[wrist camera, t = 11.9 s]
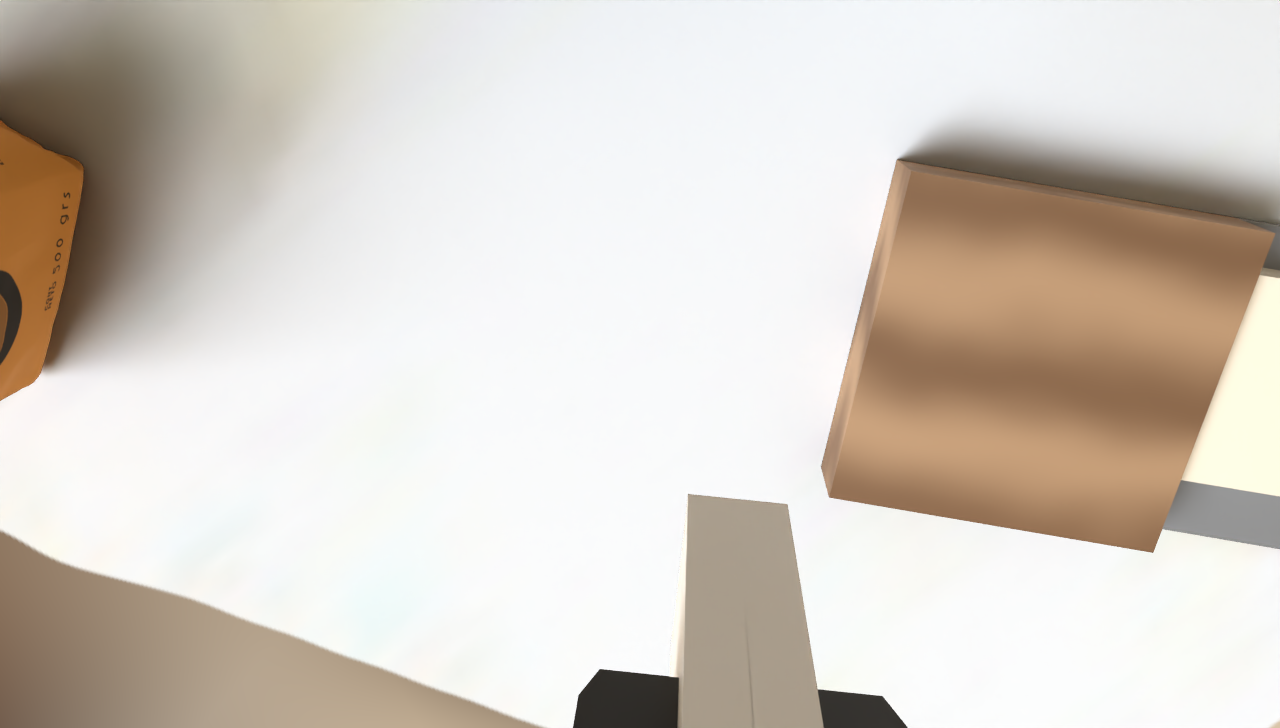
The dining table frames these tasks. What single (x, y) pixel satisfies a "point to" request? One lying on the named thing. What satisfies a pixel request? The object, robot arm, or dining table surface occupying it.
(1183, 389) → the board
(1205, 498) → the mat
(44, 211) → the coffee package
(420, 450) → the dining table surface
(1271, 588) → the dining table surface
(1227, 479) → the tile
